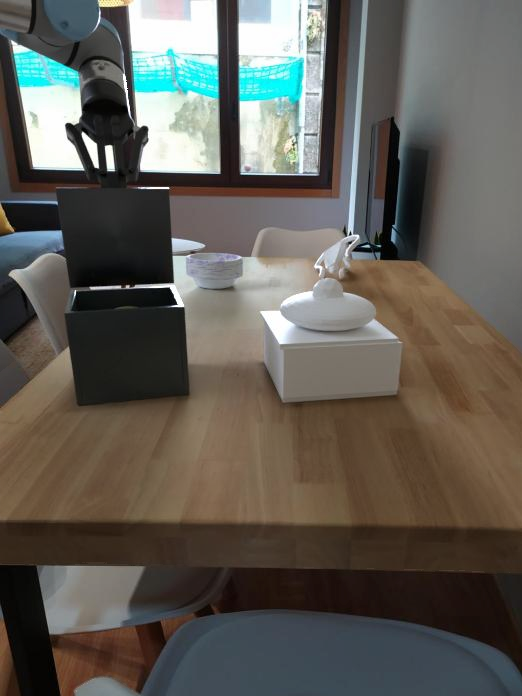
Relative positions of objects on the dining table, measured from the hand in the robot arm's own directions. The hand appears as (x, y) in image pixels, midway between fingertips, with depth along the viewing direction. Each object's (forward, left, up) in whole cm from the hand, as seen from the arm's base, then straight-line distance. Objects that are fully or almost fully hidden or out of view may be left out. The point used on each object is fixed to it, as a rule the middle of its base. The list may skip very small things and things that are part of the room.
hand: (116, 213), depth 81 cm
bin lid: (+2, -1, -3) cm, 4 cm away
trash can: (+7, -3, -24) cm, 26 cm away
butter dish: (+22, +23, -25) cm, 40 cm away
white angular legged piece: (-39, +81, -25) cm, 94 cm away
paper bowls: (-46, +42, -25) cm, 67 cm away
